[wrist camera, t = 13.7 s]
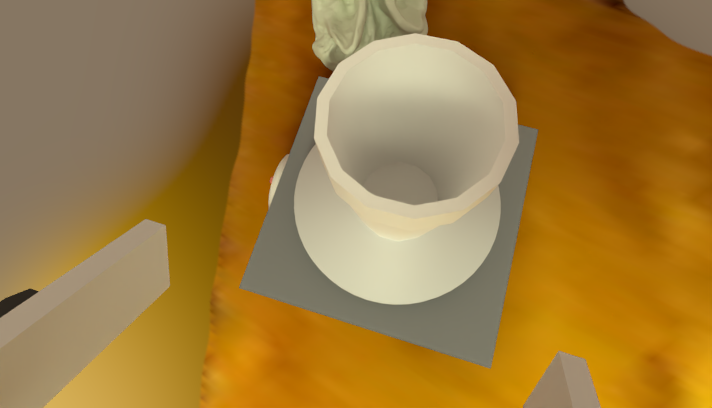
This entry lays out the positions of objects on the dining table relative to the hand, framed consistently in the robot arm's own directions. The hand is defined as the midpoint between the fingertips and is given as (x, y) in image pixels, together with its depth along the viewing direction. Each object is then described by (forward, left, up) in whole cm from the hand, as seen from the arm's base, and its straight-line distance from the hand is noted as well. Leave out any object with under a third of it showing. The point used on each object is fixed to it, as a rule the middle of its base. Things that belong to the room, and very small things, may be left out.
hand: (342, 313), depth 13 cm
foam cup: (0, -9, -16) cm, 19 cm away
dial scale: (0, -9, -25) cm, 27 cm away
